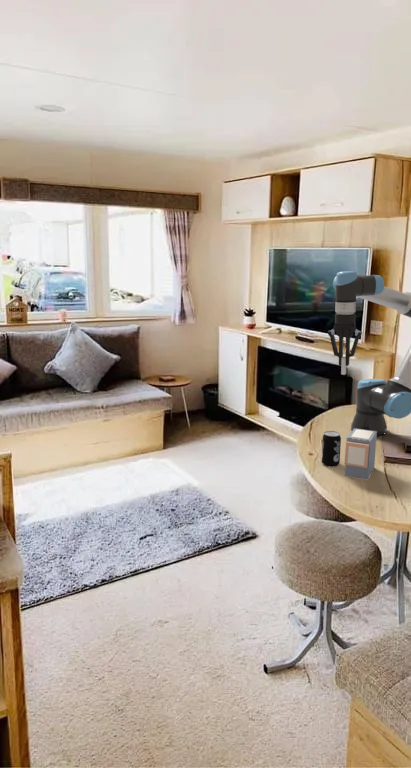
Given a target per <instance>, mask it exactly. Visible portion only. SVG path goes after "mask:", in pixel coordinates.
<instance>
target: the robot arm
mask: <svg viewBox="0 0 411 768" xmlns="http://www.w3.org/2000/svg"><path fill="white" fill-rule="evenodd" d="M332 286H333V289H334V291H335V303H334V304H335V306H334V307H335V309H334V311H335V314H334V325H333V328H332V329H331V330H328V331H327V335H328V336H329V339H330V342H331V343H330V344H331V347H332V352H333V356H334V357H338V366H341V368H340V369H341V371H340V375H343V376H345V375H347V367H348V366H350V359H351V357H354V356H355V355H356V350H357V346H358V344H359V340H360V337H361V336H362V335H363V332H362V331H361V330H358V329H357V325H356V315H357V314H356V311H357V298H359V299H362V300H366V301H368V302H371V303H374V304H377V305H381V306H383V307H387V308H390V309H392V310H396V312H397V313H398V314H400V315H403V316H406V317H408V318H410V319H411V292H409V291H405V292H402V291H399V290H396V289H394V288H390V287H387V286H385V281H384V278H383V277H382V276H381V275H379V274H378V275H377V274H371V275H369V274H368V275H363V274H358V273H357V271H355V270H353V271H352V270H351V271H349V270H347V271H339V272H337V273H336V276H335V277H334V278H333V281H332ZM354 333H355V334H354ZM335 334H336V335H337V336H338V346H337V341H336V337H335ZM353 335H354V336H355V337H354V341H353V343H352V347H351V337H352V336H353ZM344 338H345V356H344ZM350 349H351V350H350ZM410 414H411V345H410V346H409V348H408V349H407V351H406V354H405V355H404V357H403V359H402V361H401V363H400V365H399V367H398V369H397V371H396V373H395V375H394V376H393V377H392V378H388V379H387V380H386V379H383V378H365V379H361V380H359V381H358V383H357V387H356V407H355V413H354V416H353V418H352V422H351V424H350V430H351V432H352V431H353V429H354V428H355V429H363V430H370V431H377V436H383V435H382V434H384V433H386V434H387V430H388V429H387V428H388V426H387V422H386V418H385V415H386V416H388V417H389V418H393V419H405V418H406V417H409V415H410ZM384 435H385V434H384Z"/></svg>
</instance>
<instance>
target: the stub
mask: <svg viewBox="0 0 411 768" xmlns="http://www.w3.org/2000/svg"><path fill="white" fill-rule="evenodd" d="M344 451H345V455H344V465H345V464H346V465H352V466H358V467H364V468H367V466H368V453H369V445H368V444H361V443H354V442H348V441H347V440H346V442H345V450H344Z"/></svg>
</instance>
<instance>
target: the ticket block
mask: <svg viewBox="0 0 411 768" xmlns="http://www.w3.org/2000/svg"><path fill="white" fill-rule="evenodd" d="M347 441H348V442H354V443H361V444H368V445H369V453H368V466H367V468H364V467H358V466H352V465H346V464H345V463H344V476H345V477H350V478H355V479H361V480H367V481H368V480H369V479H370V476H371V474H372V473H373V471H374V469H375V464H376V463H375V462H376V449H377V431H370V430H363V429H355V428H354V429H353V431H352V430H351V432H350V433H349V434H348V436H347V437H346V442H347Z"/></svg>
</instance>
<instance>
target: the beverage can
mask: <svg viewBox="0 0 411 768" xmlns="http://www.w3.org/2000/svg"><path fill="white" fill-rule="evenodd" d="M321 443H322V445H321V463H322V465H324V466H326V467H329V466H330V468H331V467H332V468H334V467H337V466H339V464H340V462H341V461H340V460H341V443H342V438H341V433H340V432H339V431H335V430H327V431H324V432H323V435H322V441H321ZM333 466H334V467H333Z"/></svg>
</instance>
